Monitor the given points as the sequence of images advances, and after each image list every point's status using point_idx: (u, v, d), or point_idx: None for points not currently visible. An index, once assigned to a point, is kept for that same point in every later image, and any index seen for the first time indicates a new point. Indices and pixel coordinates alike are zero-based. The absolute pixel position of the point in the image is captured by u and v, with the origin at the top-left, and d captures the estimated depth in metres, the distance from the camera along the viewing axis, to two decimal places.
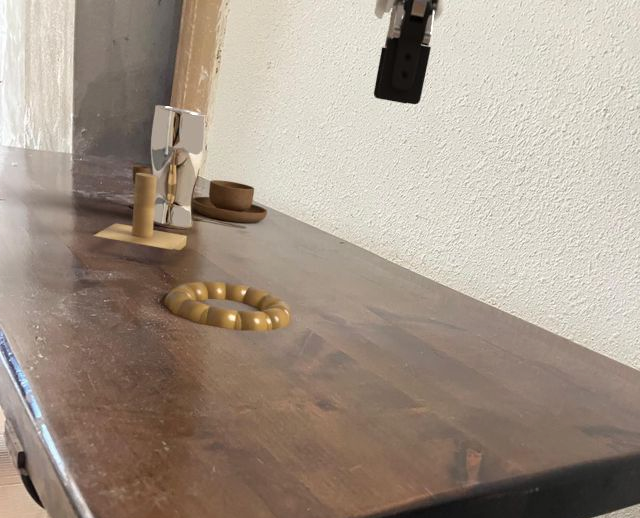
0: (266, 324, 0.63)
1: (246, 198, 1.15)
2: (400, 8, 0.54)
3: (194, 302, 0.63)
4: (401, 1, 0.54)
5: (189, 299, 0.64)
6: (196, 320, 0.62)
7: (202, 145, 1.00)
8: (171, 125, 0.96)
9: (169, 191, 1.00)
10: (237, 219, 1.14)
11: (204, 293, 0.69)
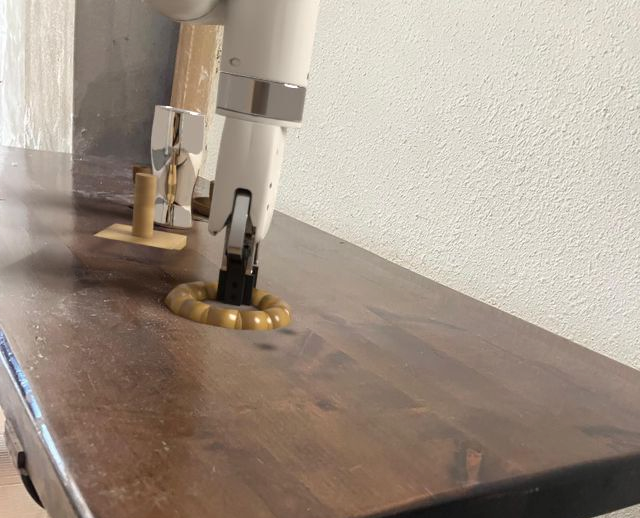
0: (266, 324, 0.63)
1: None
2: (225, 250, 0.66)
3: (195, 301, 0.63)
4: (226, 242, 0.66)
5: (190, 298, 0.64)
6: (197, 319, 0.62)
7: (202, 145, 1.00)
8: (171, 125, 0.96)
9: (169, 191, 1.00)
10: None
11: (205, 293, 0.69)
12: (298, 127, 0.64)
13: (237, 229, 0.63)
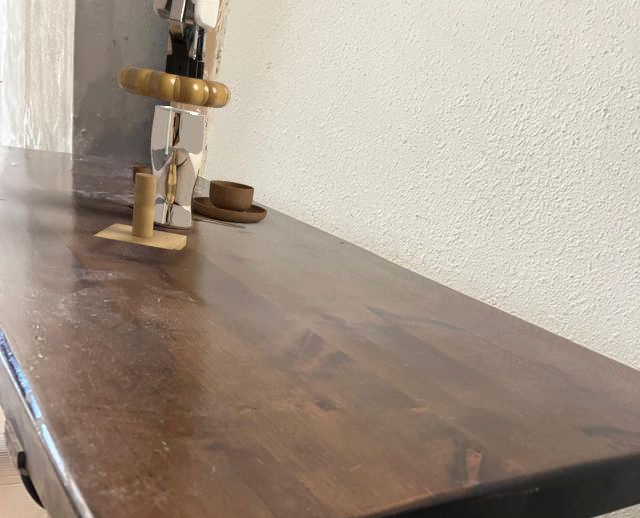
0: (203, 89, 0.72)
1: (246, 198, 1.15)
2: None
3: (140, 68, 0.72)
4: None
5: (136, 67, 0.73)
6: (141, 81, 0.71)
7: (202, 145, 1.00)
8: (171, 125, 0.96)
9: (169, 191, 1.00)
10: (237, 219, 1.14)
11: None
12: None
13: (177, 4, 0.72)
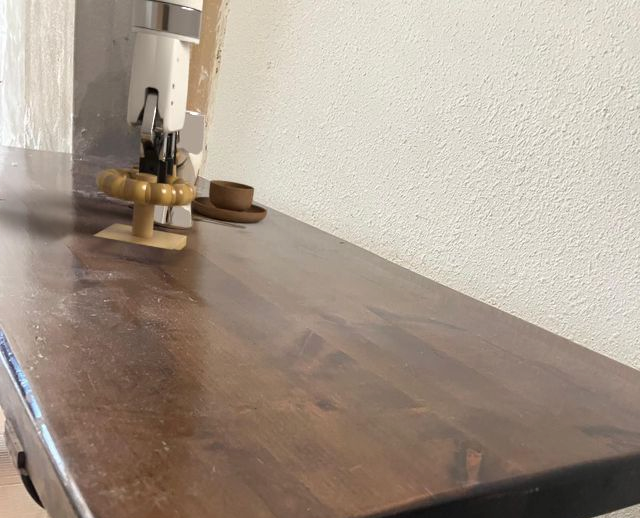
0: (171, 193, 0.83)
1: (246, 198, 1.15)
2: None
3: (116, 175, 0.83)
4: None
5: (112, 174, 0.83)
6: (116, 188, 0.82)
7: (202, 145, 1.00)
8: None
9: None
10: (237, 219, 1.14)
11: (129, 176, 0.88)
12: (195, 42, 0.83)
13: (148, 119, 0.82)
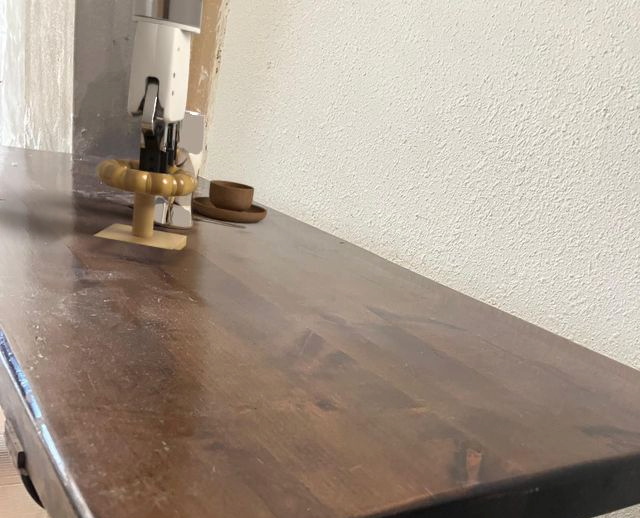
0: (172, 183, 0.83)
1: (246, 198, 1.15)
2: None
3: (116, 166, 0.82)
4: None
5: (113, 164, 0.83)
6: (117, 178, 0.81)
7: (202, 145, 1.00)
8: None
9: None
10: (237, 219, 1.14)
11: (129, 167, 0.88)
12: (196, 31, 0.83)
13: (148, 109, 0.82)
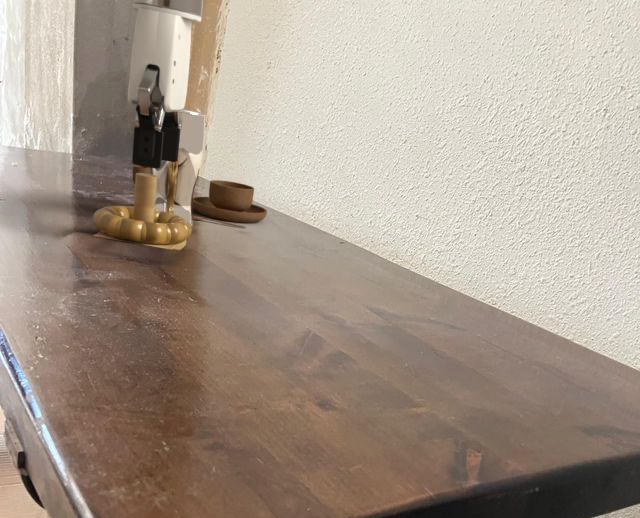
0: (166, 232, 0.85)
1: (246, 198, 1.15)
2: None
3: (112, 215, 0.85)
4: None
5: (109, 213, 0.85)
6: (113, 227, 0.84)
7: (202, 145, 1.00)
8: None
9: (169, 191, 1.00)
10: (237, 219, 1.14)
11: (126, 214, 0.90)
12: (197, 19, 0.82)
13: (147, 79, 0.80)
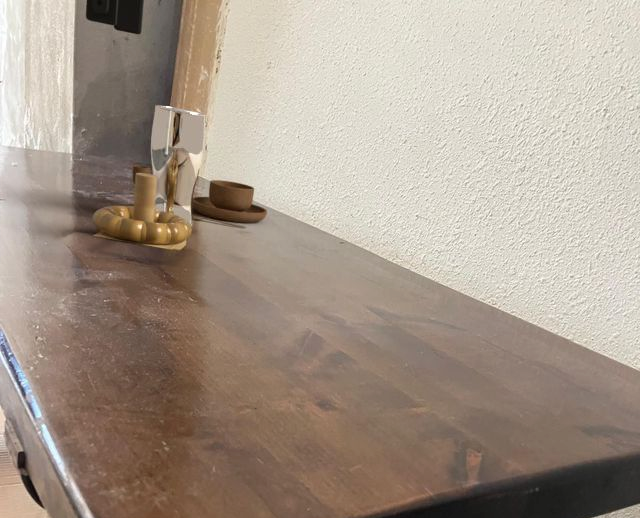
0: (166, 232, 0.85)
1: (246, 198, 1.15)
2: None
3: (112, 215, 0.85)
4: None
5: (109, 213, 0.85)
6: (113, 227, 0.84)
7: (202, 145, 1.00)
8: (171, 125, 0.96)
9: (169, 191, 1.00)
10: (237, 219, 1.14)
11: (126, 214, 0.90)
12: None
13: None
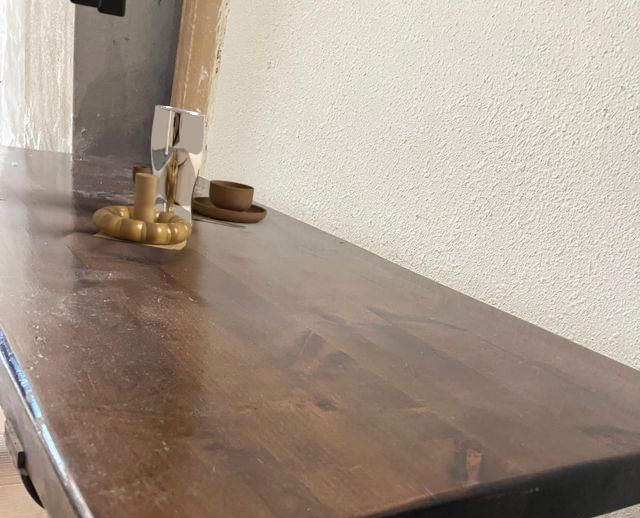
0: (166, 232, 0.85)
1: (246, 198, 1.15)
2: None
3: (112, 215, 0.85)
4: None
5: (109, 213, 0.85)
6: (113, 227, 0.84)
7: (202, 145, 1.00)
8: (171, 125, 0.96)
9: (169, 191, 1.00)
10: (237, 219, 1.14)
11: (126, 214, 0.90)
12: None
13: None
